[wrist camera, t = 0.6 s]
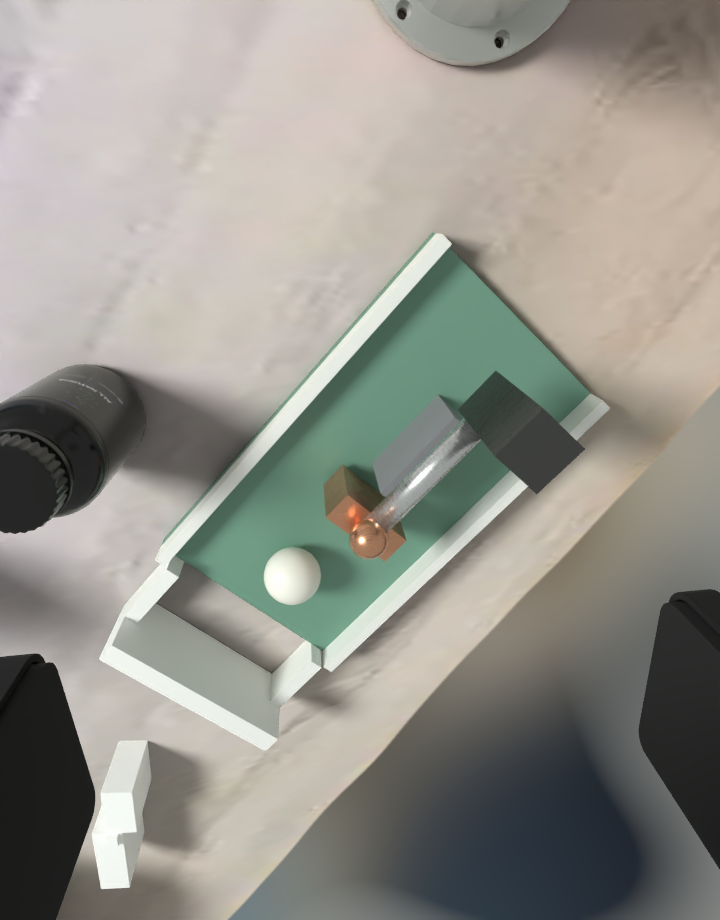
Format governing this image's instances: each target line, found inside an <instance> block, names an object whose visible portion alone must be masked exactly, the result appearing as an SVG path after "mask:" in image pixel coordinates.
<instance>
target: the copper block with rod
mask: <svg viewBox="0 0 720 920" xmlns="http://www.w3.org/2000/svg"><path fill="white" fill-rule="evenodd" d="M458 411H459V412H460V413H461V415H462V416H463V417H464V418H463V419H462V420H461V421H460V422H459V423H458V424H457V425H456V426H455V427H454V428H453V429H452V430H451V431H450V432H449V433H448V434H447V435H446V436H445V437H444V438H443V439H442V440H441V441H440V442H439V443H438V444H437V445H436V446H435V448H434V449H433V450H432V451H431V452H430V453H429V454H428V455H427V456H426V457H425V458H424V459H423V460H422V461H421V462H420V463H419V464H418V465H417V466H416V467H415V468H414V469H413V470H412V471H411V472H410V473H409V474H408V475H407V476H406V477H405V478H404V479H403V480H402V481H401V482H400V483H399V484H398V485H397V486H396V487H395V488H394V489H393V490H392V491H391V492H390V493H389V494H388V495H387V496H386V497H384V496H383V495H381V494H380V493H379V492H378V491H376V490H375V489H374V488H372V487H371V486H370V485H369V484H367V483H366V482H365V481H364V480H362V479H361V478H360V477H359V476H357V475H356V474H355V473H354V472H352V471H351V470H350V469H349V468H347V467H346V466H345V465H344V464H342V465H341V466H340V468H339V469H338V470H337V471H336V472H335V473H334V474H333V475H332V476H331V477H330V478H329V479H328V480H327V481H326V482H325V483H324V498H325V513H326V518H327V519H328V520H330V521H331V522H332V523H334V524H335V525H336V526H338V527H339V528H341V529H342V530H343V531H345V532H346V533H347V534H349V544H350V547H351V549H352V551H353V552H354V553H355V554H356V555H357V556H359V557H361V558H363V559H374V558H377V557H379V558H381V559H382V560H383V561H386V560H387V559H388V558H389V557H390V556H391V555H392V554H393V553H394V552H395V551H396V550H397V549H398V548H399V547H401V546H402V545H403V544H404V543H405V542H406V541H407V540H406V537H405V534H404V531H403V528H402V524H401V521H400V520H401V519H402V518H403V517H404V516H405V515H406V514H407V513H408V512H409V511H410V510H411V509H412V508H413V507H414V506H415V505H416V504H417V503H418V502H419V501H420V500H421V499H422V498H423V497H424V496H425V495H426V494H427V493H428V492H429V491H430V490H431V489H432V488H433V487H434V486H435V485H436V484H437V483H438V482H439V481H440V480H441V479H442V478H443V477H444V476H445V475H446V474H447V473H448V472H449V471H450V470H451V469H452V468H453V467H454V466H455V465H456V464H457V463H458V462H459V461H460V460H461V459H462V458H463V457H464V456H465V455H466V454H467V453H468V452H469V451H470V450H471V449H472V448H473V447H474V446H475V445H476V444H477V443H478V442H479V441H480V440H482V441H483V442H484V444H485V445H486V446H487V447H488V449H489V450H490V451H491V452H492V454H493V455H494V456H495V457H496V458H497V459H498V460H499V461H500V462H502V463H503V464H504V465H505V466H506V467H507V468H508V469H509V470H510V471H512V472H513V473H514V474H515V475H516V476H517V477H518V478H519V479H520V480H522V481H523V482H524V483H525V484H526V485H527V486H528V487H529V488H530V489H532V490H533V491H534V492H535V493H536V494H537V493H539V492H540V491H541V490H542V489H543V488H544V487H545V486H546V485H547V484H548V483H549V482H550V481H551V480H552V479H554V478H555V477H556V476H557V475H558V474H559V473H560V472H561V471H562V470H563V469H564V468H565V467H566V466H567V465H568V464H570V463H571V462H572V461H573V460H574V459H575V458H576V457H577V456H578V455H579V454H580V453H581V452H582V451H583V450H585V449H584V448H583V447H582V446H581V445H580V444H579V443H578V442H577V441H576V440H575V439H574V438H573V437H572V436H571V435H570V434H569V433H568V432H567V431H566V430H565V429H564V428H563V427H562V426H561V425H560V424H559V423H558V422H557V421H556V420H555V419H554V418H553V417H552V416H551V415H550V414H549V413H548V412H547V411H546V410H545V409H544V408H542V407H541V406H540V405H539V404H537V403H536V402H535V401H534V400H532V399H531V398H530V397H529V396H527V395H526V394H525V393H524V392H522V391H521V390H520V389H519V388H517V387H516V386H515V385H514V384H512V383H511V382H510V381H508V380H507V379H506V378H505V377H503V376H502V375H501V374H500V373H498V372H497V371H495V372H494V373H493V374H492V375H491V376H490V377H489V378H488V379H487V380H486V381H485V382H484V383H483V384H482V385H481V386H480V387H479V388H478V389H477V390H476V391H475V392H474V393H473V394H472V395H471V396H470V397H469V398H468V399H467V400H466V401H465V402H464V403H463V404H462V406H461V407H460V408H459V409H458Z"/></svg>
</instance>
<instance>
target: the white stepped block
mask: <svg viewBox="0 0 720 920" xmlns="http://www.w3.org/2000/svg"><path fill="white" fill-rule="evenodd" d="M151 779H152V778H151V769H150V759H149V750H148V740H142V741H119V743H118V745H117V748H116V751H115V754H114V757H113V759H112V762H111V765H110V768H109V771H108V773H107V776H106V779H105V782H104V785H103V787H102V790H101V793H100V794H101V801H102V806H101V809H100V812H99V815H98V818H97V820H96V823H95V826H94V829H93V832H92V839H93V844H94V850H95V856H96V862H97V868H98V874H99V880H100V886H101V889H113V888H130V885H131V881H132V877H133V874H134V870H135V866H136V862H137V858H138V855H139V851H140V847H141V843H142V839H143V836H144V824H143V816H142V812H143V808H144V804H145V801H146V797H147V793H148V790H149V786H150V783H151Z"/></svg>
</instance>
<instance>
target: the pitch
mask: <svg viewBox="0 0 720 920" xmlns="http://www.w3.org/2000/svg"><path fill="white" fill-rule="evenodd" d="M451 245H452V243H451V242H450V241H449V240H448V239H447V238H446V237H445V236H444V235H443V234H438V233H432V234H431V235H430V236H429V238H428V239H427V240H426V241H425V242H424V243H423V244H422V246H421V247H420V248H419V249H418V250H417V251H416V252H415V254H414V255H413V256H412V257H411V258H410V259H409V260H408V262H407V263H406V264H405V265H404V266H403V267H402V268H401V270H400V271H399V272H398V273H397V274H396V275H395V276H394V278H393V279H392V280H391V281H390V282H389V283H388V284H387V285H386V287H385V288H384V289H383V290H382V291H381V292H380V293H379V295H378V296H377V297H376V298H375V299H374V300H373V301H372V303H371V304H370V305H369V306H368V307H367V308H366V309H365V311H364V312H363V313H362V314H361V315H360V316H359V317H358V319H357V320H356V321H355V322H354V323H353V324H352V325H351V327H350V328H349V329H348V330H347V331H346V332H345V333H344V335H343V336H342V337H341V338H340V339H339V340H338V341H337V343H336V344H335V345H334V346H333V347H332V348H331V349H330V351H329V352H328V353H327V354H326V355H325V356H324V357H323V359H322V360H321V361H320V362H319V363H318V364H317V365H316V367H315V368H314V369H313V370H312V371H311V372H310V373H309V375H308V376H307V377H306V378H305V379H304V380H303V381H302V382H301V384H300V385H299V386H298V387H297V388H296V389H295V390H294V392H293V393H292V394H291V395H290V396H289V397H288V398H287V400H286V401H285V402H284V403H283V404H282V405H281V406H280V408H279V409H278V410H277V411H276V412H275V413H274V414H273V416H272V417H271V418H270V419H269V420H268V421H267V422H266V424H265V425H264V426H263V427H262V428H261V429H260V430H259V432H258V433H257V434H256V435H255V436H254V437H253V438H252V440H251V441H250V442H249V443H248V444H247V445H246V446H245V448H244V449H243V450H242V451H241V452H240V453H239V454H238V456H237V457H236V458H235V459H234V460H233V461H232V462H231V464H230V465H229V466H228V467H227V468H226V469H225V470H224V472H223V473H222V474H221V475H220V476H219V477H218V478H217V480H216V481H215V482H214V483H213V484H212V485H211V486H210V487H209V489H208V490H207V491H206V492H205V493H204V494H203V495H202V497H201V498H200V499H199V500H198V501H197V502H196V503H195V505H194V506H193V507H192V508H191V509H190V510H189V511H188V513H187V514H186V515H185V516H184V517H183V518H182V519H181V521H180V522H179V523H178V524H177V525H176V526H175V527H174V529H173V530H172V531H171V532H170V533H169V534H168V535H167V537H166V538H165V539H164V541H163V543H162V545H161V548H160V550H159V552H158V554H157V557H156V559H155V560H156V561H157V562H159V563H160V565H159V566H158V567H157V568H156V570H155V571H154V572H153V573H152V574H151V575H150V576H149V577H148V579H147V580H146V581H145V582H144V583H143V584H142V585H141V586H140V588H139V589H138V590H137V591H136V592H135V593H134V594H133V595H132V597H131V598H130V599H129V600H128V601H127V602H126V603H125V605H124V607H123V609H122V611H121V613H120V615H119V617H118V620H117V622H116V624H115V626H114V628H113V630H112V632H111V635H110V637H109V639H108V641H107V643H106V645H105V647H104V649H103V652H102V654H101V656H100V658H99V660H101V661H102V662H104V663H106V664H108V665H110V666H111V667H113V668H115V669H117V670H119V671H121V672H122V673H124V674H126V675H128V676H130V677H131V678H133V679H135V680H137V681H139V682H140V683H142V684H144V685H146V686H148V687H150V688H151V689H153V690H155V691H157V692H159V693H160V694H162V695H164V696H166V697H168V698H169V699H171V700H173V701H175V702H177V703H179V704H180V705H182V706H184V707H186V708H188V709H189V710H191V711H193V712H195V713H197V714H199V715H200V716H202V717H204V718H206V719H208V720H209V721H211V722H213V723H215V724H217V725H218V726H220V727H222V728H224V729H226V730H228V731H229V732H231V733H233V734H235V735H237V736H238V737H240V738H242V739H244V740H246V741H248V742H249V743H251V744H253V745H255V746H257V747H258V748H260V749H262V750H264V751H266V750H267V749H268V748H269V747H270V746H271V745H272V744H274V743H275V742H276V741H277V740H278V732H279V713H280V707H281V706H282V705H283V704H284V703H285V702H286V701H287V700H288V699H289V698H290V697H291V696H292V695H293V694H295V693H296V692H297V691H298V690H299V689H300V688H301V687H302V686H303V685H304V684H305V683H306V682H307V681H308V680H309V679H310V678H311V677H312V676H313V675H314V674H315V673H317V672H318V671H319V670H320V669H321V668H322V667H321V650H322V651H323V667H324V668H326V669H327V670H329V671H330V672H332V671H333V670H334V669H335V668H336V667H337V666H338V665H339V664H340V663H342V662H343V661H344V660H345V659H346V658H347V657H348V656H349V655H350V654H351V653H352V652H353V651H354V650H355V649H356V648H357V647H358V646H360V645H361V644H362V643H363V642H364V641H365V640H366V639H367V638H368V637H369V636H370V635H371V634H372V633H373V632H374V631H375V630H376V629H377V628H379V627H380V626H381V625H382V624H383V623H384V622H385V621H386V620H387V619H388V618H389V617H390V616H391V615H392V614H393V613H394V612H395V611H397V610H398V609H399V608H400V607H401V606H402V605H403V604H404V603H405V602H406V601H407V600H408V599H409V598H410V597H411V596H412V595H413V594H415V593H416V592H417V591H418V590H419V589H420V588H421V587H422V586H423V585H424V584H425V583H426V582H427V581H428V580H429V579H430V578H431V577H433V576H434V575H435V574H436V573H437V572H438V571H439V570H440V569H441V568H442V567H443V566H444V565H445V564H446V563H447V562H448V561H449V560H451V559H452V558H453V557H454V556H455V555H456V554H457V553H458V552H459V551H460V550H461V549H462V548H463V547H464V546H465V545H466V544H467V543H469V542H470V541H471V540H472V539H473V538H474V537H475V536H476V535H477V534H478V533H479V532H480V531H481V530H482V529H483V528H484V527H485V526H487V525H488V524H489V523H490V522H491V521H492V520H493V519H494V518H495V517H496V516H497V515H498V514H499V513H500V512H501V511H502V510H503V509H505V508H506V507H507V506H508V505H509V504H510V503H511V502H512V501H513V500H514V499H515V498H516V497H517V496H518V495H519V494H520V493H521V492H523V491H524V490H525V489H526V488H527V487H528V486H527V485H526V484H525V483H524V482H523V481H522V480H520V479H519V478H518V477H517V476H516V475H515V474H514V473H513V472H512V471H510V470H509V469H508V468H507V467H506V466H505V465H504V464H503V463H502V462H500V461H499V460H498V459H497V458H496V457H495V456H494V455H493V454H492V452H491V451H490V450H489V449H488V447H487V446H486V445H485V444H484V442H483V441H482V440H480V441H479V442H478V443H477V444H476V445H475V446H474V447H473V448H472V449H471V450H470V451H469V452H468V453H467V454H466V455H465V456H464V457H463V458H462V459H461V460H460V461H459V462H458V463H457V464H456V465H455V466H454V467H453V468H452V469H451V470H450V471H449V472H448V473H447V474H446V475H445V476H444V477H443V478H442V479H441V480H440V481H439V482H438V483H437V484H436V485H435V486H434V487H433V488H432V489H431V490H430V491H429V492H428V493H427V494H426V495H425V496H424V497H423V498H422V499H421V500H420V501H419V502H418V503H417V504H416V505H415V506H414V507H413V508H412V509H411V510H410V511H409V512H408V513H407V514H406V515H405V516H404V517H403V518H402V519H401V520H400V521H401V524H402V528H403V531H404V534H405V537H406V540H407V541H406V542H405V543H404V544H403V545H402V546H401V547H399V548H398V549H397V550H396V551H395V552H394V553H393V554H392V555H391V556H390V557H389V558H388V559H387V560H386V561H383V560H382V559H381V558H379V557H377V558H374V559H363V558H361V557H359V556H357V555H356V554H355V553H354V552H353V551H352V549H351V547H350V544H349V534H347V533H346V532H345V531H343V530H342V529H341V528H339V527H338V526H336V525H335V524H334V523H332V522H331V521H330V520H328V519H327V518H326V513H325V498H324V483H325V482H326V481H327V480H328V479H329V478H330V477H331V476H332V475H333V474H334V473H335V472H336V471H337V470H338V469H339V468H340V466H341V465H342V464H344V465H345V466H346V467H347V468H349V469H350V470H351V471H352V472H354V473H355V474H356V475H357V476H359V477H360V478H361V479H362V480H364V481H365V482H366V483H367V484H369V485H370V486H371V487H372V488H374V489H375V490H376V491H378V492H379V493H380V494H381V495H383V496H384V497H386V496H387V495H388V494H389V493H390V492H391V491H392V490H393V489H394V488H395V487H396V486H397V485H398V484H399V483H400V482H401V481H402V480H403V479H404V478H405V477H406V476H407V475H408V474H409V473H410V472H411V471H412V470H413V469H414V468H415V467H416V466H417V465H418V464H419V463H420V462H421V461H422V460H423V459H424V458H425V457H426V456H427V455H428V454H429V453H430V452H431V451H432V450H433V449H434V448H435V446H436V445H437V444H438V443H439V442H440V441H441V440H442V439H443V438H444V437H445V436H446V435H447V434H448V433H449V432H450V431H451V430H452V429H453V428H454V427H455V426H456V425H457V424H458V423H459V422H460V421H461V420H462V419H463V418H464V417H463V416H462V415H461V413H460V412H459V411H458V409H459V408H460V407H461V406H462V404H463V403H464V402H465V401H466V400H467V399H468V398H469V397H470V396H471V395H472V394H473V393H474V392H475V391H476V390H477V389H478V388H479V387H480V386H481V385H482V384H483V383H484V382H485V381H486V380H487V379H488V378H489V377H490V376H491V375H492V374H493V373H494V372H495V371H497V372H498V373H500V374H501V375H502V376H503V377H505V378H506V379H507V380H508V381H510V382H511V383H512V384H514V385H515V386H516V387H517V388H519V389H520V390H521V391H522V392H524V393H525V394H526V395H527V396H529V397H530V398H531V399H532V400H534V401H535V402H536V403H537V404H539V405H540V406H541V407H542V408H544V409H545V410H546V411H547V412H548V413H549V414H550V415H551V416H552V417H553V418H554V419H555V420H556V421H557V422H558V423H559V424H560V425H561V426H562V427H563V428H564V429H565V430H566V431H567V432H568V433H569V434H570V435H571V436H572V437H573V438H574V439H575V440H576V441H577V440H578V439H579V438H580V437H581V436H582V435H583V434H584V433H585V432H586V431H587V430H588V429H589V428H590V427H591V426H592V425H593V424H595V423H596V422H597V421H598V420H599V419H600V418H601V417H602V416H603V415H604V414H605V413H606V412H607V411H608V410H609V409H610V408H609V406H608V405H607V404H606V403H605V402H604V401H602V400H601V399H599V398H598V397H596V396H594V395H593V394H591V393H590V392H589V391H588V390H587V389H586V388H585V387H584V386H583V385H582V384H581V383H580V382H579V381H578V380H577V379H576V378H575V377H574V376H573V375H572V373H571V372H570V371H569V370H568V369H567V368H566V367H565V366H564V365H563V364H562V363H561V362H560V361H559V360H558V359H557V358H556V357H555V356H554V355H553V354H552V353H551V352H550V351H549V350H548V349H547V348H546V347H545V346H544V345H543V343H542V342H541V341H540V340H539V339H538V338H537V337H536V336H535V335H534V334H533V333H532V332H531V331H530V330H529V329H528V328H527V327H526V326H525V325H524V324H523V323H522V322H521V321H520V320H519V319H518V318H517V317H516V316H515V315H514V314H513V312H512V311H511V310H510V309H509V308H508V307H507V306H506V305H505V304H504V303H503V302H502V301H501V300H500V299H499V298H498V297H497V296H496V295H495V294H494V293H493V292H492V291H491V290H490V289H489V288H488V287H487V286H486V285H485V284H484V282H483V281H482V280H481V279H480V278H479V277H478V276H477V275H476V274H475V273H474V272H473V271H472V270H471V269H470V268H469V267H468V266H467V265H466V264H465V263H464V262H463V261H462V260H461V259H460V258H459V257H458V256H457V255H456V254H455V253H454V251H453V250H452V249H451V248H450V246H451ZM288 547H298V548H302V549H304V550H306V551H308V552H310V553H311V554H312V555H313V556H314V557H315V559H316V560H317V562H318V564H319V566H320V571H321V580H320V584H319V587H318V589H317V591H316V592H315V594H314V595H313V596H312V597H311V598H310V599H308V600H307V601H305V602H303V603H301V604H297V605H287V604H283V603H280V602H278V601H277V600H275V599H274V598H273V597H272V596H271V595H270V594H269V593H268V591H267V589H266V586H265V583H264V570H265V567H266V564H267V562H268V561H269V559H270V558H271V557H272V556H273V555H274V554H275V553H276V552H278V551H280V550H281V549H284V548H288ZM184 562H186V563H187V564H189V565H191V566H192V567H194V568H195V569H197V570H198V571H200V572H201V573H203V574H204V575H206V576H208V577H209V578H211V579H212V580H214V581H215V582H217V583H218V584H220V585H221V586H223V587H225V588H226V589H228V590H229V591H231V592H232V593H234V594H235V595H237V596H238V597H240V598H242V599H243V600H245V601H246V602H248V603H249V604H251V605H252V606H254V607H255V608H257V609H259V610H260V611H262V612H263V613H265V614H266V615H268V616H269V617H271V618H272V619H274V620H276V621H277V622H279V623H280V624H282V625H283V626H285V627H286V628H288V629H289V630H291V631H293V632H294V633H296V634H297V635H299V636H300V637H302V638H303V639H305V640H306V641H305V642H304V643H303V644H302V645H301V646H300V647H299V648H298V649H297V650H296V651H294V652H293V653H292V654H291V655H290V656H289V657H288V658H287V659H286V660H285V661H284V662H283V663H282V664H281V665H280V666H279V667H278V668H277V669H276V670H275V671H274V672H273V673H272V674H271V673H270V672H268V671H266V670H265V669H263V668H261V667H260V666H258V665H257V664H255V663H253V662H252V661H250V660H248V659H247V658H245V657H243V656H242V655H240V654H238V653H237V652H235V651H234V650H232V649H230V648H229V647H227V646H225V645H224V644H222V643H220V642H219V641H217V640H215V639H214V638H212V637H210V636H209V635H207V634H206V633H204V632H202V631H201V630H199V629H197V628H196V627H194V626H192V625H191V624H189V623H187V622H186V621H184V620H183V619H181V618H179V617H178V616H176V615H174V614H173V613H171V612H169V611H168V610H166V609H164V608H163V607H161V606H159V605H158V604H156V602H157V601H158V600H159V599H160V598H161V596H162V595H163V594H164V593H165V592H166V591H167V590H168V589H169V588H170V587H171V585H172V584H173V583H174V582H175V581H176V580H177V579H178V578H179V575H180V573H181V570H182V567H183V564H184Z"/></svg>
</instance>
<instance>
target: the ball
mask: <svg viewBox="0 0 720 920" xmlns="http://www.w3.org/2000/svg"><path fill="white" fill-rule="evenodd" d="M320 580H321V571H320V566H319V564H318V562H317V560H316V559H315V557H314V556H313V555H312V554H311V553H310V552H308V551H306V550H304V549H302V548H298V547H288V548H284V549H281V550H280V551H278V552H276V553H275V554H274V555H273V556H272V557H271V558H270V559H269V561H268V562H267V564H266V567H265V570H264V583H265V586H266V589H267V591H268V593H269V594H270V595H271V596H272V597H273V598H274V599H275V600H277V601H278V602H280V603H283V604H287V605H297V604H301V603H303V602H305V601H307V600H308V599H310V598H311V597H312V596H313V595H314V594H315V592H316V591H317V589H318V587H319V584H320Z"/></svg>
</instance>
